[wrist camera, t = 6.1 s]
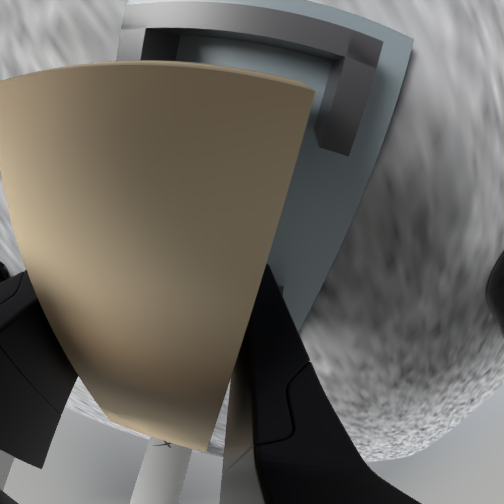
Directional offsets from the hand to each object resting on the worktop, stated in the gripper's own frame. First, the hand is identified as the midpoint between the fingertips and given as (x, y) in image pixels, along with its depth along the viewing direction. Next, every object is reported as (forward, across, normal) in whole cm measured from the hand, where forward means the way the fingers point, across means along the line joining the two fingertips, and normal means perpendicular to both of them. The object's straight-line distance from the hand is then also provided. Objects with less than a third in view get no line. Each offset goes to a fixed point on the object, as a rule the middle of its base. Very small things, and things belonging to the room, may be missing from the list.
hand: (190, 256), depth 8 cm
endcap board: (+5, 0, 0) cm, 5 cm away
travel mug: (+5, +3, +38) cm, 38 cm away
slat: (+1, 0, 0) cm, 1 cm away
